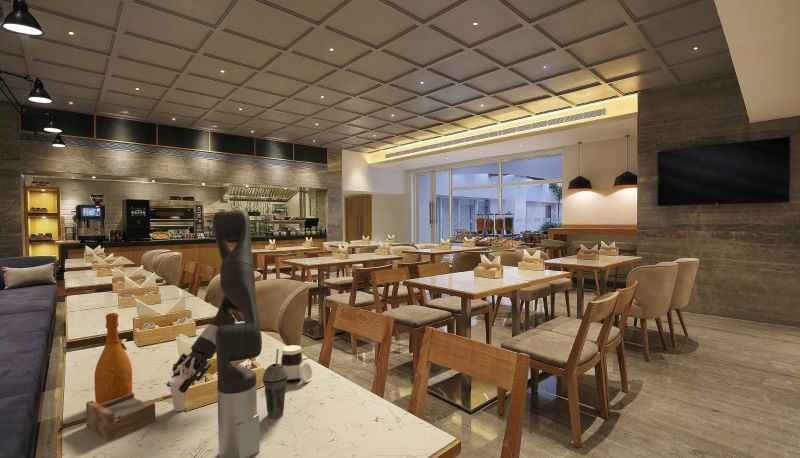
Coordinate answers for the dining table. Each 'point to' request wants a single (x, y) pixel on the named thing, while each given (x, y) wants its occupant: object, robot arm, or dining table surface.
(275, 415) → the beverage cup
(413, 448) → the dining table surface
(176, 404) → the smoothie
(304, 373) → the spread jar
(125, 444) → the dining table surface
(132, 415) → the brown wooden tray
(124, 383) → the wine bottle
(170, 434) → the dining table surface
